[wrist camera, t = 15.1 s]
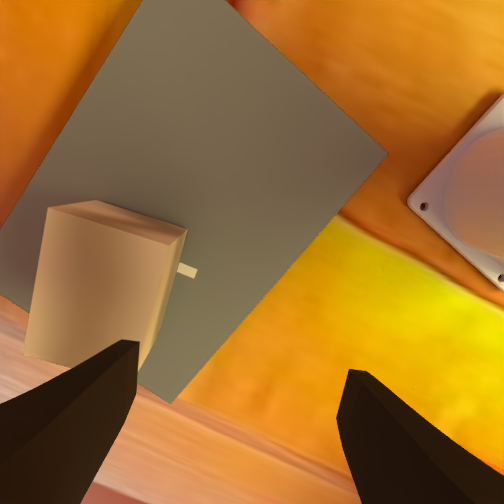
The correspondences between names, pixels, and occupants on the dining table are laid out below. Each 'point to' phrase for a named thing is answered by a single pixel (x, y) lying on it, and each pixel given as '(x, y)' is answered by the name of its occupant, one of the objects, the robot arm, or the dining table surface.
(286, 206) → the board
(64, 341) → the block
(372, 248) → the dining table surface
